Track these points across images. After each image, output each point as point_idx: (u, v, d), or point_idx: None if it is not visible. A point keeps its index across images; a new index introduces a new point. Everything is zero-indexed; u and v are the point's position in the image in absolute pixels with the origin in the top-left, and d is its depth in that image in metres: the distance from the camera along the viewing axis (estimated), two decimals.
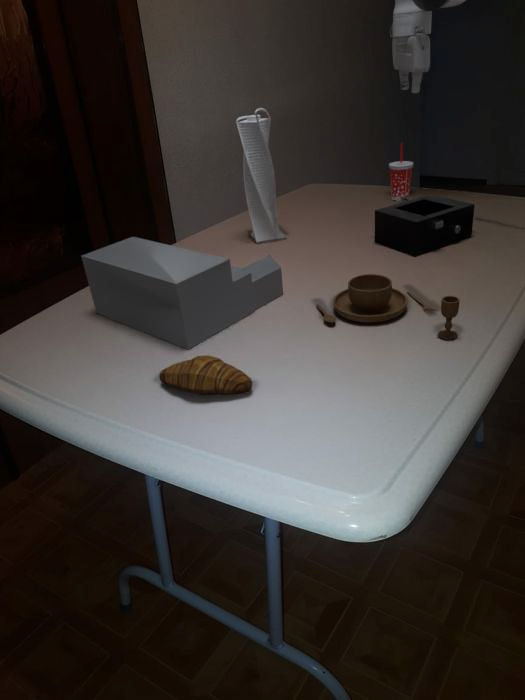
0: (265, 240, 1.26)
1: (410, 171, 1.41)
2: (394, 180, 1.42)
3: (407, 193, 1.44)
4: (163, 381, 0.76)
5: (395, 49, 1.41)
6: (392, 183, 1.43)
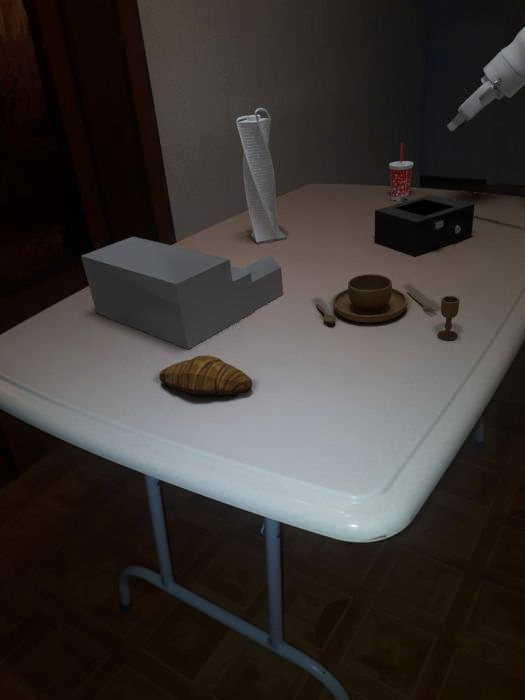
0: (265, 240, 1.26)
1: (410, 171, 1.41)
2: (394, 180, 1.42)
3: (407, 193, 1.44)
4: (163, 381, 0.76)
5: None
6: (392, 183, 1.43)
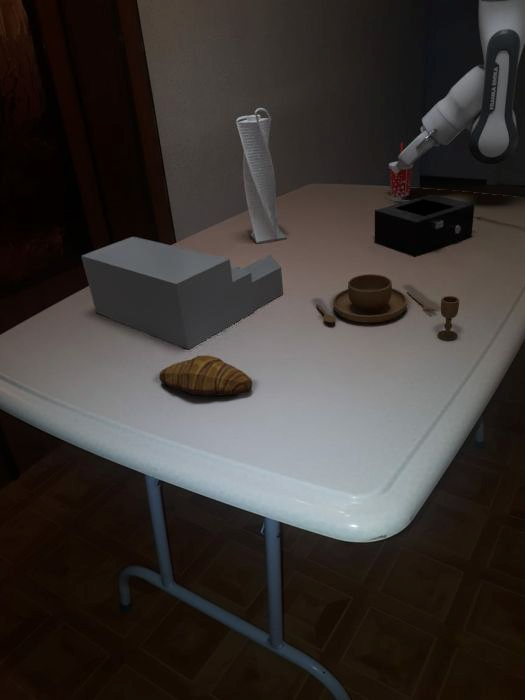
0: (265, 240, 1.26)
1: (410, 171, 1.41)
2: (394, 180, 1.42)
3: (407, 193, 1.44)
4: (163, 381, 0.76)
5: None
6: (392, 183, 1.43)
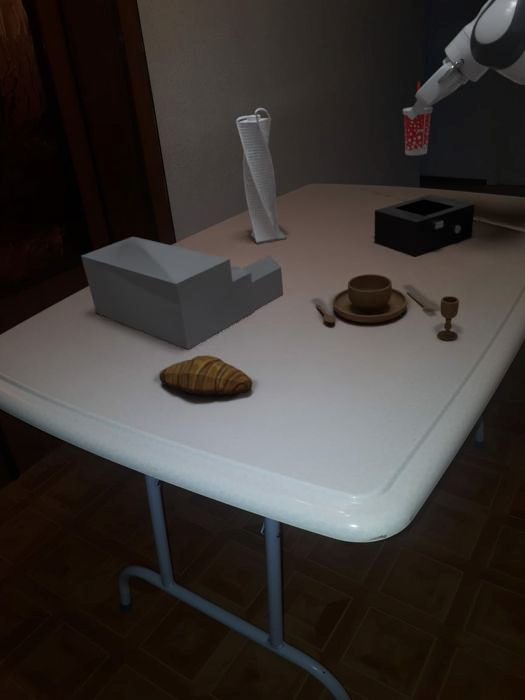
0: (265, 240, 1.26)
1: (429, 117, 1.15)
2: (409, 128, 1.17)
3: (425, 145, 1.18)
4: (163, 381, 0.76)
5: None
6: (407, 133, 1.18)
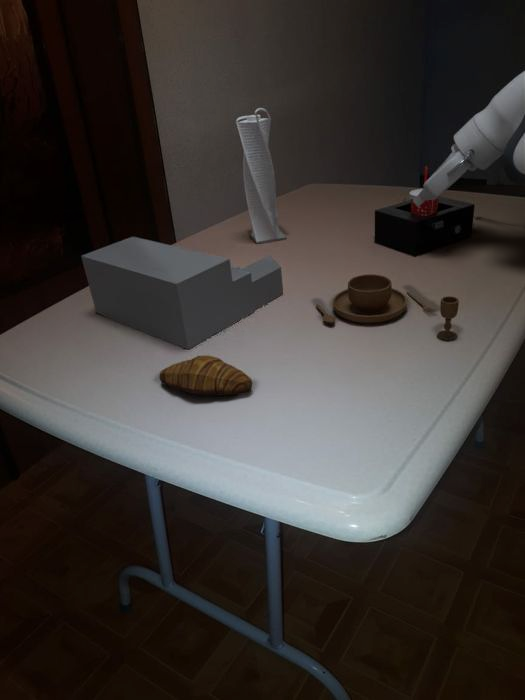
0: (265, 240, 1.26)
1: (436, 202, 1.12)
2: (416, 213, 1.13)
3: None
4: (163, 381, 0.76)
5: None
6: None
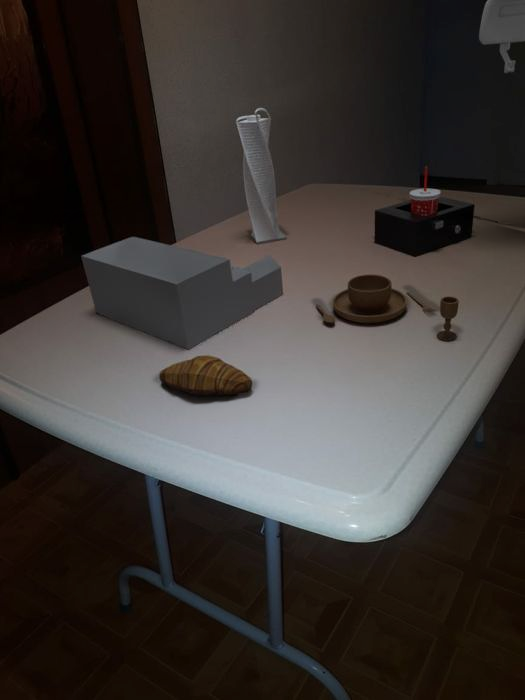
0: (265, 240, 1.26)
1: (436, 202, 1.12)
2: (416, 213, 1.13)
3: None
4: (163, 381, 0.76)
5: (495, 12, 0.92)
6: None
